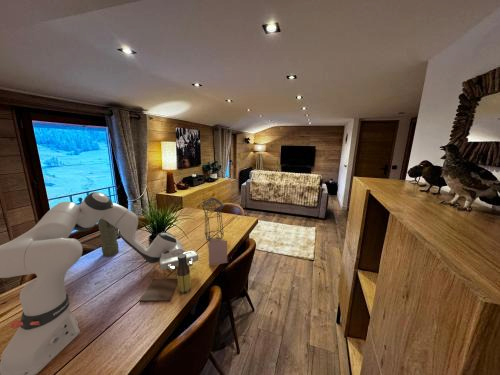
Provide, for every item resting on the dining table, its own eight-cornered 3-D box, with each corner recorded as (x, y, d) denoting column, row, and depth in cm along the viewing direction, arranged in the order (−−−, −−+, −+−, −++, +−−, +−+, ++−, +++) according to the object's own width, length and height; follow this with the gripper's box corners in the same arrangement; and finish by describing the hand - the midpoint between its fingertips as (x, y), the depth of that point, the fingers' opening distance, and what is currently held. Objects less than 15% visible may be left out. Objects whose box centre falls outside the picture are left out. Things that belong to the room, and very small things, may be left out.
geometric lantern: (226, 243, 148) (225, 199, 140) (205, 247, 142) (203, 201, 134) (221, 234, 162) (220, 193, 154) (202, 237, 157) (200, 195, 148)
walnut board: (170, 301, 92) (169, 299, 92) (139, 302, 91) (139, 300, 91) (179, 280, 107) (179, 278, 107) (153, 280, 106) (152, 278, 106)
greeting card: (227, 261, 125) (227, 240, 122) (223, 268, 118) (222, 246, 115) (211, 258, 128) (211, 237, 125) (206, 265, 121) (205, 243, 118)
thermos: (109, 259, 125) (102, 206, 117) (98, 254, 129) (90, 204, 122) (123, 252, 132) (117, 203, 125) (112, 248, 137) (105, 200, 130)
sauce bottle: (191, 285, 103) (189, 251, 99) (191, 294, 97) (189, 258, 93) (178, 287, 102) (176, 252, 97) (177, 296, 96) (175, 260, 91)
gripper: (195, 255, 120) (201, 267, 108) (158, 264, 110) (161, 278, 98) (195, 245, 119) (201, 257, 107) (158, 253, 109) (161, 267, 97)
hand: (182, 267), depth 103 cm, fingers open, 8 cm apart
